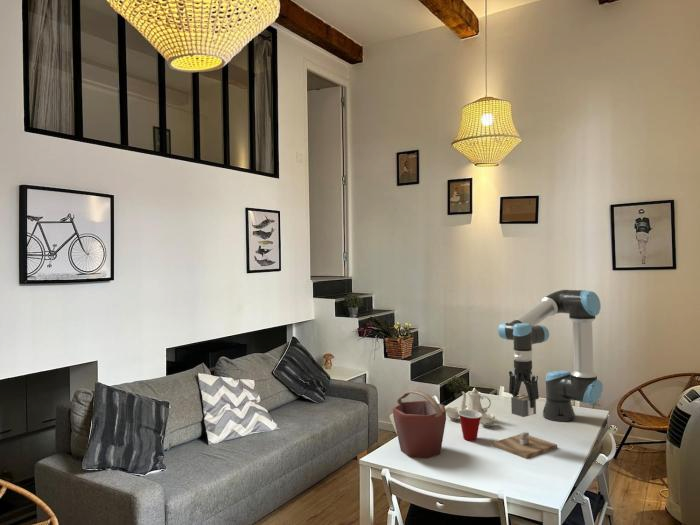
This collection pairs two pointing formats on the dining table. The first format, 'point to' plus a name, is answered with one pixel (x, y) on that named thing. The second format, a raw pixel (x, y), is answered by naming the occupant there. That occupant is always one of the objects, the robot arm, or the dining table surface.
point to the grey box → (521, 405)
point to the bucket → (420, 426)
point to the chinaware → (472, 408)
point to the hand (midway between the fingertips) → (523, 412)
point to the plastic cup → (469, 423)
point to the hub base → (524, 445)
